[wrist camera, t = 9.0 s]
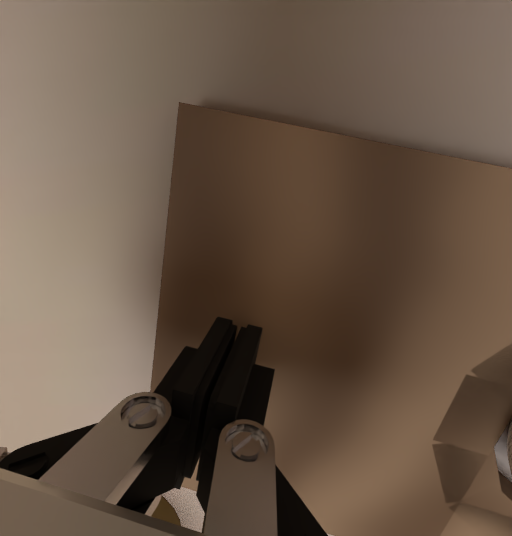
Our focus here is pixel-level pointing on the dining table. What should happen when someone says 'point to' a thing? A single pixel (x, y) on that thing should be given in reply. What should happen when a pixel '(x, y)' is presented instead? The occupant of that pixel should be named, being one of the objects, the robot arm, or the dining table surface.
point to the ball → (510, 446)
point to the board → (353, 313)
